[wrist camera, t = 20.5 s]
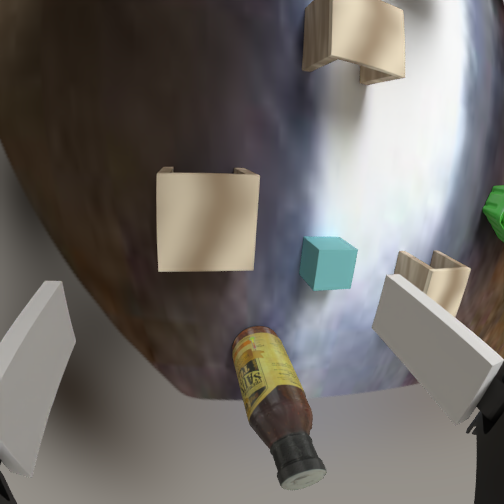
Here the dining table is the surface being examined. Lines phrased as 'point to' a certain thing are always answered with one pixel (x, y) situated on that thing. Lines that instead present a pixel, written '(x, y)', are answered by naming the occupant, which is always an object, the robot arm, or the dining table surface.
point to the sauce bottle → (277, 406)
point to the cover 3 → (436, 278)
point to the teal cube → (327, 263)
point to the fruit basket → (496, 210)
